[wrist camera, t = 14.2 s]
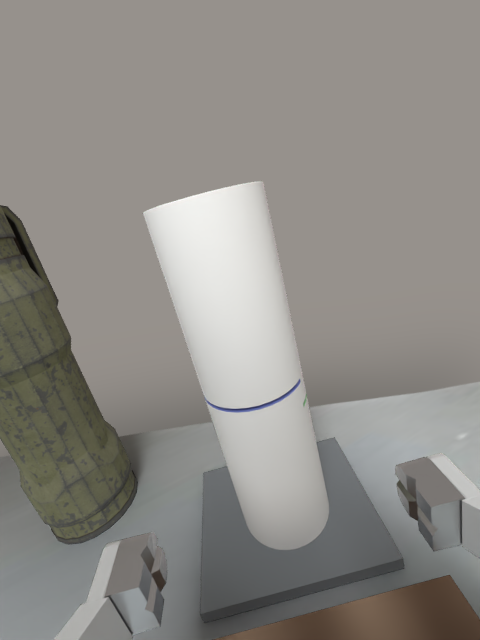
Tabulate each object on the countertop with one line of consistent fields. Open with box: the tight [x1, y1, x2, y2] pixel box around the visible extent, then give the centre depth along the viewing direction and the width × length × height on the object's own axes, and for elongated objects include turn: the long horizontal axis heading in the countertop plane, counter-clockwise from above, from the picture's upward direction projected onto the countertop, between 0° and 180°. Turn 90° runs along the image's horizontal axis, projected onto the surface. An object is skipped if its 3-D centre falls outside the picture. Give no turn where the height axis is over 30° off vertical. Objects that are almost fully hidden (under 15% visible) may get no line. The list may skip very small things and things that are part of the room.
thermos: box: [0, 205, 137, 544], centre depth 27 cm, size 9×12×35 cm
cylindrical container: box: [143, 181, 329, 550], centre depth 22 cm, size 7×7×25 cm
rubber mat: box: [200, 437, 404, 623], centre depth 26 cm, size 14×12×1 cm
